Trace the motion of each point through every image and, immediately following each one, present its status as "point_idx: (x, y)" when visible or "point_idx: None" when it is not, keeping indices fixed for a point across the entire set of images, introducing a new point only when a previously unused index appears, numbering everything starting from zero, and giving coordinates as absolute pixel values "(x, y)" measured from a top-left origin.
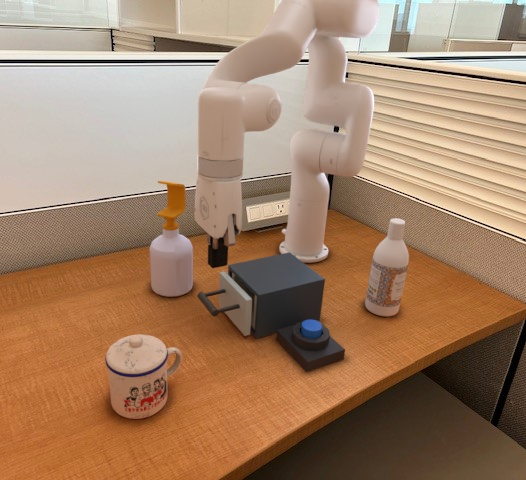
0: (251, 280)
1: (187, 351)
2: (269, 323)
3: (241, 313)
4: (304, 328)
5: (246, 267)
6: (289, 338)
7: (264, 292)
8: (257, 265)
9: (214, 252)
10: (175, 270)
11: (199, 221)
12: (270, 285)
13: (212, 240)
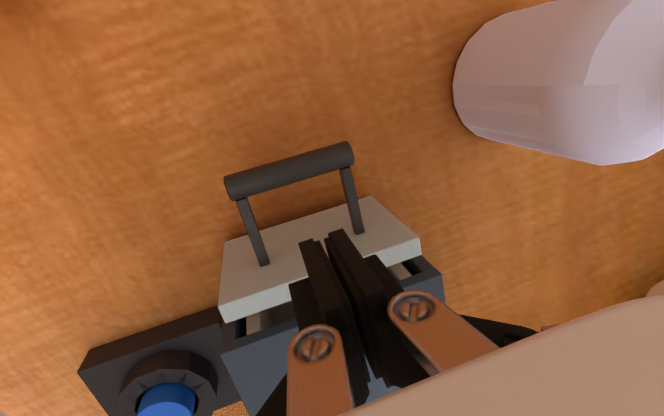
0: None
1: (186, 80)
2: None
3: (246, 261)
4: (148, 406)
5: None
6: (178, 345)
7: (236, 370)
8: None
9: (319, 307)
10: (512, 84)
11: (596, 377)
12: None
13: (398, 337)
